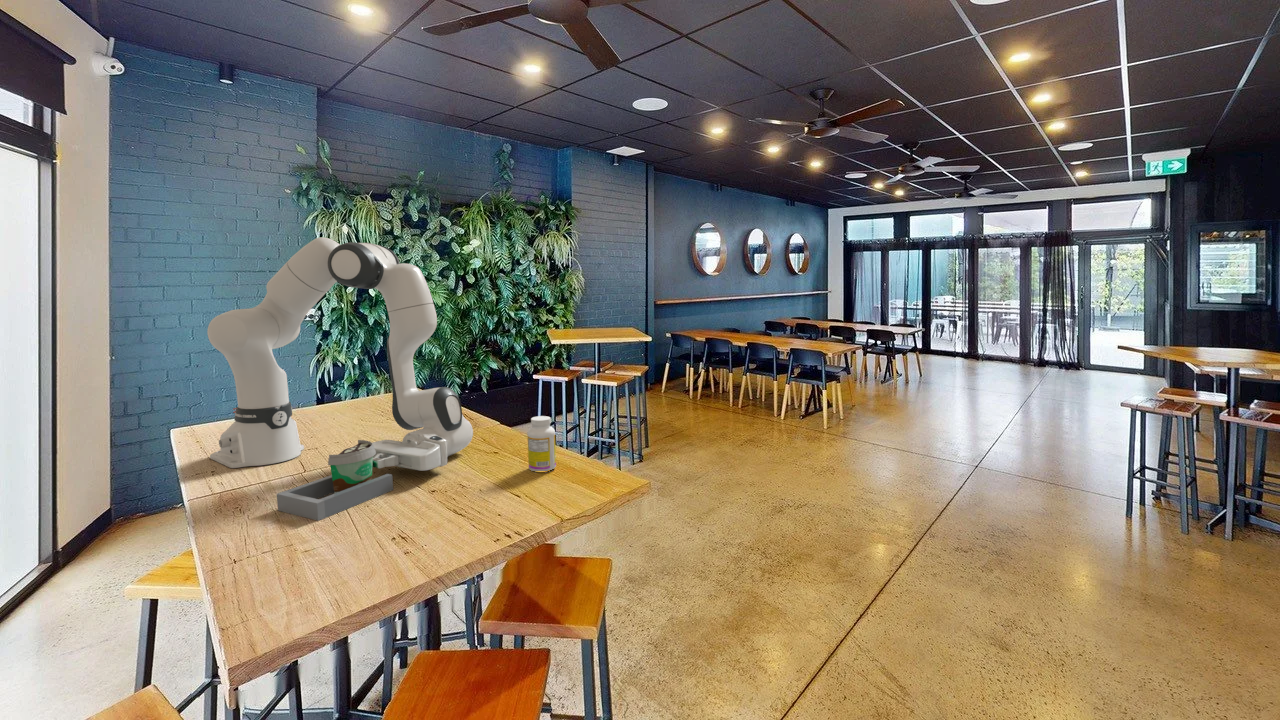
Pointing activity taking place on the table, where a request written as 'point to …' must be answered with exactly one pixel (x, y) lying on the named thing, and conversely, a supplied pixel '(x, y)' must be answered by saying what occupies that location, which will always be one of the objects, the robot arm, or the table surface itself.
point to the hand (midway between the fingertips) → (373, 464)
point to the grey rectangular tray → (329, 497)
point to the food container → (352, 466)
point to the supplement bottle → (541, 444)
